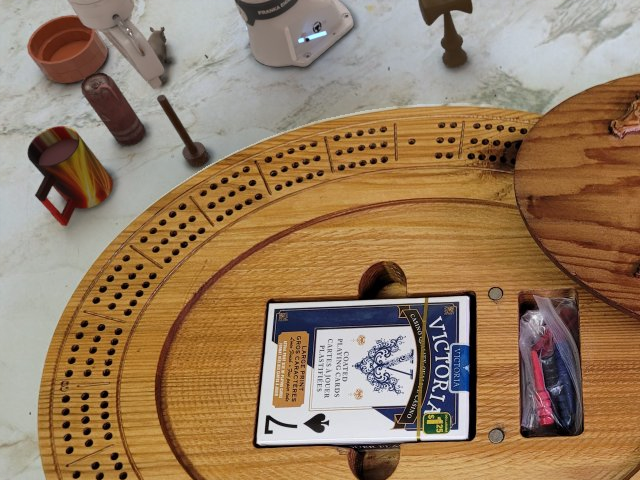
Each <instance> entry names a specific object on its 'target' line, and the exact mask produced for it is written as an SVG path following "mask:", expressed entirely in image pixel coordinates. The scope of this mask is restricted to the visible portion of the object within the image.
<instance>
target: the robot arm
mask: <svg viewBox="0 0 640 480" xmlns="http://www.w3.org/2000/svg"><path fill="white" fill-rule="evenodd" d="M67 2H68V4H69V5H70V7H71V8H72V10H73V11H74V13H75V15H77V16H78V17H79V19H80V21H81V22H82V23H83V24H84V25H85V26H87V27H89V28H92V29H96V30H97V31H98V32H100V33H102V34H103V35H104V36H105V37H106V38H107V39H108V41H109V42H110V43H111V44H112V45H113V47H115V48H116V50H117V51H118V52H119V53H120V54H121V55H122V56H123V58H124V59H126V61H127V62H128V63H129V64H130V65H131V66H132V67H133V68H134V70H135V71H136V72H137V73H138V75H139V76H141V78H142V79H143V80H144V81H145V82H147V83H148V85H149V86H150V87H151V88H152V89H157V88H159V87H161V86H162V85H163V84H162V82H161V81H160V79H159V77H158V76H160V75H161V76H162V75H163V74H164V73H165V69H164V66H163V63H162V64H161V62H160V61H159V59H158V57H157V56H156V54H155V52H154V51H153V49H152V47H151V46H150V44H149V43H148V39H147V38H146V37H145V36H144V34H143V32H141V31H140V29H139V28H138V27H137V25H136V24H134V22H133V21H131V20H132V16H133V15H132V14H133V11H134V9H135V1H134V0H67ZM234 3H235V4H234V5H235V6H236V8H237V11H238V13H239V15H240V17H241V19H242V20H243V21H244V23H245V26H246V27H245V29H246V31H247V33H248V38H249V44H250V45H249V46H250V52H251V55H252V57H253V58H254V59H255V60H256V61H257V62H258V63H260V64H263V65H265V66H268V67H277V68H278V67H288V66H294V67H302V68H305V67H309V65H311V64H312V63H313V62H314V61H315V60H317V59H318V58H319V57H320V56H321V55H322V54H324V53H325V52H326V51H327V50H328V49H330V48H331V47H332V46H333V45H335V43H337V42H338V41H339V40H340V39H341V38H343V37H344V35H346V34H347V33H348V32H349V31H350V30H351V29H352V28H354V24H355V23H354V19H353V16H352V14H351V12H350V11H349V9H348V8H347V7H346V6H345V4H343V3H342V2H341V1H340V0H234Z"/></svg>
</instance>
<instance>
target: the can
mask: <svg viewBox="0 0 640 480" xmlns="http://www.w3.org/2000/svg"><path fill="white" fill-rule="evenodd" d="M80 90H81V94H82V95H83V97H84V98H85V99H86V101H87V102H88V104H89V105H90V106H91V107H92V109H93V110H94V112H95V114H97V116H98V118H99V119H100V120H101V122H102V123H103V125H104V126H105V127H106V129H107V130H108V131H109V133H110V135H111V136H112V137H113V138H114V139H115V141H116V142H117V143H118V144H119V145H122V146H126V147H132V146H135V145H137V144H139V143H140V142H142V141H143V139H144V138H145V136H146V127H145V125H144V124H143V122H142V120H141V118H140V117H139V116H138V115H137V113H136V112H135V110H134V109H133V107H132V106H131V103H129V101H128V100H127V98H126V96H125V95H124V93H123V92H122V90H121V89H120V88H119V86H118V85H117V83H116V82H115V80H114V79H113V78H112V77H111V76H110V75H108V74H107V73H104V72H101V71H100V72H95V73H93V74H91V75H89V76H87V77H86V78H85V79H83V80H82V82H81V84H80Z"/></svg>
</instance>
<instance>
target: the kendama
mask: <svg viewBox="0 0 640 480" xmlns="http://www.w3.org/2000/svg"><path fill="white" fill-rule="evenodd" d="M417 2H418V7H419V11H420V13H421V16H422V17H421V18H422V19H423V21H424V24H425V25H426V26H428V27H431V26H432V25H433V24H434V23H435V22H436V21H437V20H438V19H439V18H440V17H441V16H443V37H442V38H441V40H440V43H439V44H440V46H441V47H442V49H443V50H444V52H443V54H442V57H441V60H442V63H443V64H444V65H445V66H446V67H448V68H457V67H461V66H463V65H464V64H465V63H466V62H467V61H468V54H467V52H466V51H465V50H464V49H463V47H462V46H463V44H464V38H463V36H462V35H461V34H459V33H458V32H457V28H456V26H455V23H454V20H453V17H452V13H451V12H453V11H458V12H462V13H465V14H468V15H472V14H473V10H474V6H473V5H474V4H473V1H472V0H417Z"/></svg>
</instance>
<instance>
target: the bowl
mask: <svg viewBox="0 0 640 480" xmlns="http://www.w3.org/2000/svg"><path fill="white" fill-rule="evenodd" d="M26 48H27V54H28V55H29V57H30V58H31V59H32V61H33V62H34V63H35V65H36V66H37V67H38V69H39V70H40V71H41V73H42V74H43V75H44V76H45V77H46V78H47V79H48V80H49V81H52V82H54V83H59V84H69V83H75V82H79V81H83V80H84V79H85V78H86V77H87V76H89V75H91V74H93V73H97V71H98V70H99V69H100V68H101V67H102V66H103V64H104V63H105V61H106V59H107V55H108V52H109V51H108V47H107V43H106V42H105V40H104V38H103V37H102V36H101V34H100V33H99V31H98V30H96V29H92V28H89V27H87V26H85V25H84V24H83V23H82V22H81V21H80V19H79V17H78V16H77V14H67V15H61V16H58V17H55V18H52V19H50V20H48V21H46V22H44V23H42V24H41V25H40V26H39V27H38V28H36V29H35V30H34V31H33V33H32V34H31V35H30V37H29V39H28V42H27V46H26Z"/></svg>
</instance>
